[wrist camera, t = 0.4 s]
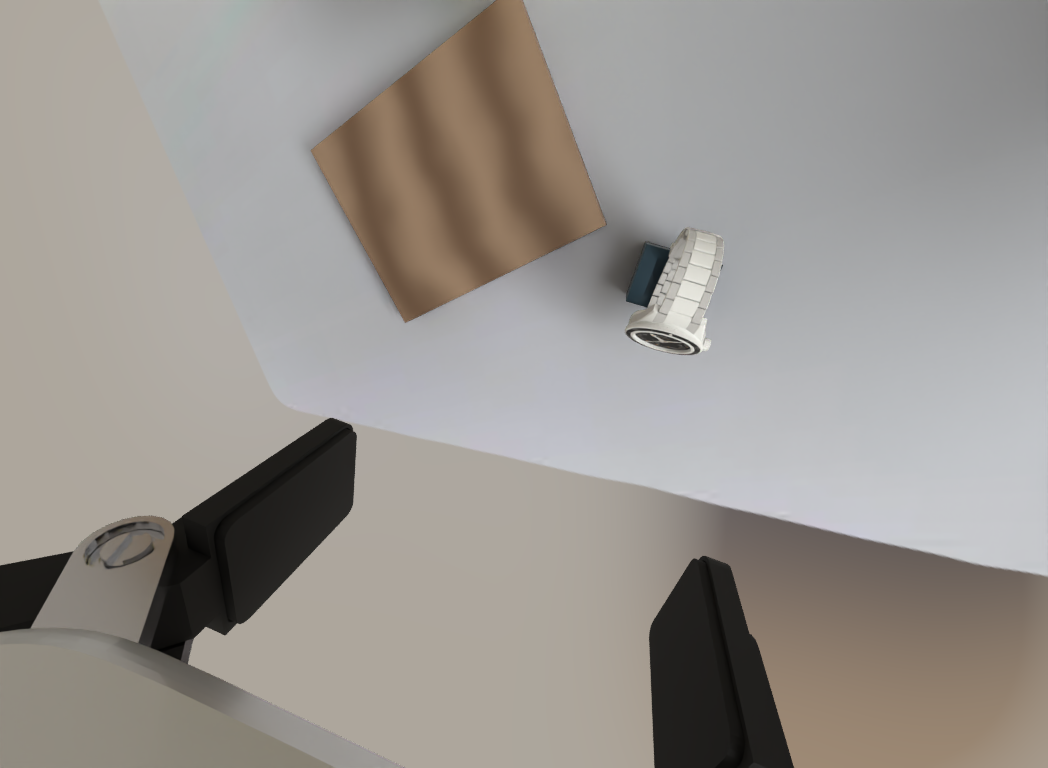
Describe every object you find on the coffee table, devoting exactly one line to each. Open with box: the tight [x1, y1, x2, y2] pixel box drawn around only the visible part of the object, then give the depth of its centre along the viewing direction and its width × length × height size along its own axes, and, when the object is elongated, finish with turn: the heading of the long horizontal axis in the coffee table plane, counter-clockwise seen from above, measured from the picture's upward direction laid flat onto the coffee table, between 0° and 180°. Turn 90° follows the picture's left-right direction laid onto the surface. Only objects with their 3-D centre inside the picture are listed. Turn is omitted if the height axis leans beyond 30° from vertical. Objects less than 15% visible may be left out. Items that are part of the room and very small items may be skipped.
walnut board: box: [311, 0, 607, 323], centre depth 32 cm, size 20×16×2 cm
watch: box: [625, 227, 724, 355], centre depth 27 cm, size 6×8×11 cm
